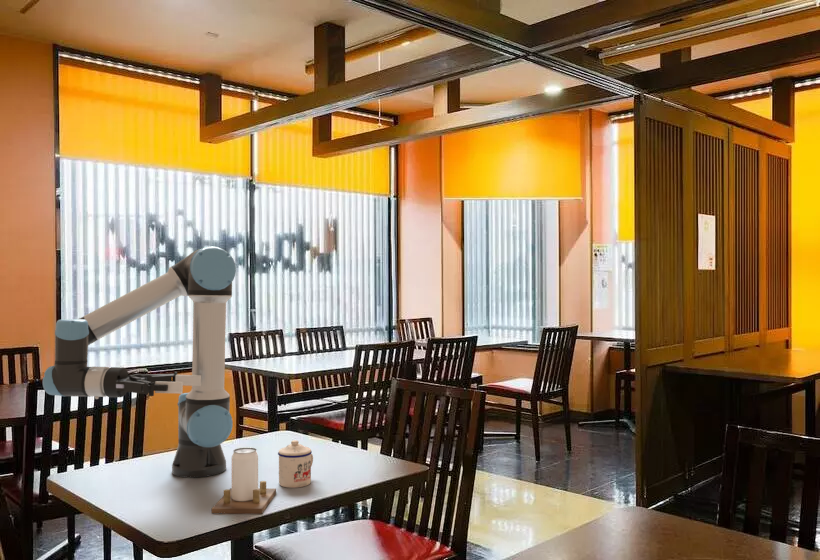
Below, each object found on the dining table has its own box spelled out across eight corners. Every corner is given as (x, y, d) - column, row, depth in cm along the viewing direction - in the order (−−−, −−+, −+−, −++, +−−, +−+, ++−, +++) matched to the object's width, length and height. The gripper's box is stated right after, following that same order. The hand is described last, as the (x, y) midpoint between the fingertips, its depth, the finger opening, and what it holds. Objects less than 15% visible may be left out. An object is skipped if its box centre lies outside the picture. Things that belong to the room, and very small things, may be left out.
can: (235, 503, 169) (235, 454, 169) (228, 496, 175) (228, 448, 175) (261, 499, 172) (261, 451, 172) (254, 492, 178) (254, 445, 178)
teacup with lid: (297, 490, 184) (297, 446, 184) (271, 485, 188) (270, 442, 188) (324, 479, 194) (324, 437, 194) (299, 474, 199) (299, 433, 199)
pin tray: (230, 492, 182) (230, 476, 182) (276, 493, 181) (276, 477, 181) (211, 513, 166) (211, 495, 166) (261, 513, 165) (261, 496, 165)
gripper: (129, 389, 188) (207, 391, 188) (83, 405, 164) (173, 407, 163) (130, 362, 189) (207, 363, 188) (84, 373, 164) (173, 375, 163)
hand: (191, 384), depth 175 cm, fingers open, 13 cm apart
